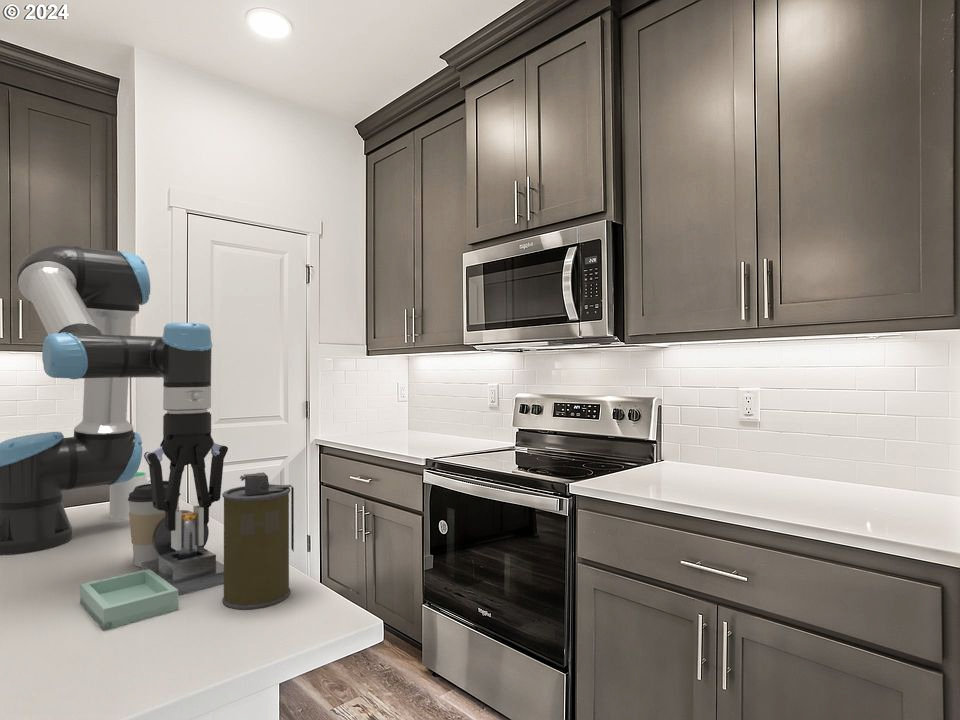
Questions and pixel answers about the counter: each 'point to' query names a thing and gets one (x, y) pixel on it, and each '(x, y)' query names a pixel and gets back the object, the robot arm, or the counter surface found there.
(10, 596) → the counter surface
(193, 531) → the lock pin
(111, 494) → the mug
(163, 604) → the tray
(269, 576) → the canister
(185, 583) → the tensioner
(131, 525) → the coffee cup
